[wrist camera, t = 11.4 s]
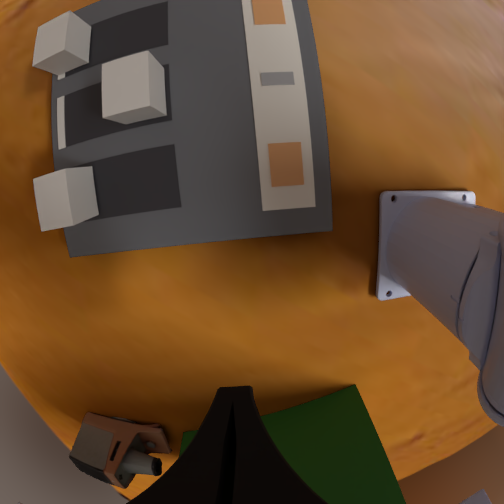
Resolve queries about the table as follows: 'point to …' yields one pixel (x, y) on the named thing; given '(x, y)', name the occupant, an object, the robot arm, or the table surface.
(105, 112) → the tab middle
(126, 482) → the electronic device
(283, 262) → the table surface
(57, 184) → the tab
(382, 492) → the hardback book
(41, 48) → the tab
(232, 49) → the switch board
